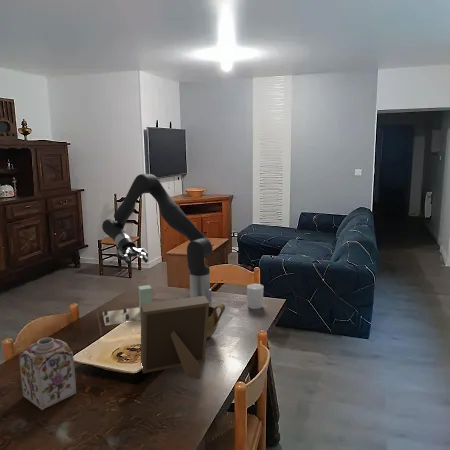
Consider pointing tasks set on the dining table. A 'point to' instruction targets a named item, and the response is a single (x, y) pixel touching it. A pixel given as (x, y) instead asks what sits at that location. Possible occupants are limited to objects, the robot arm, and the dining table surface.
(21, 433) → the dining table surface
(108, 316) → the peg board
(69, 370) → the decorative jar
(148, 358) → the photo frame
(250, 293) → the white cup
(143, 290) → the green block
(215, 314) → the ceramic bowl
